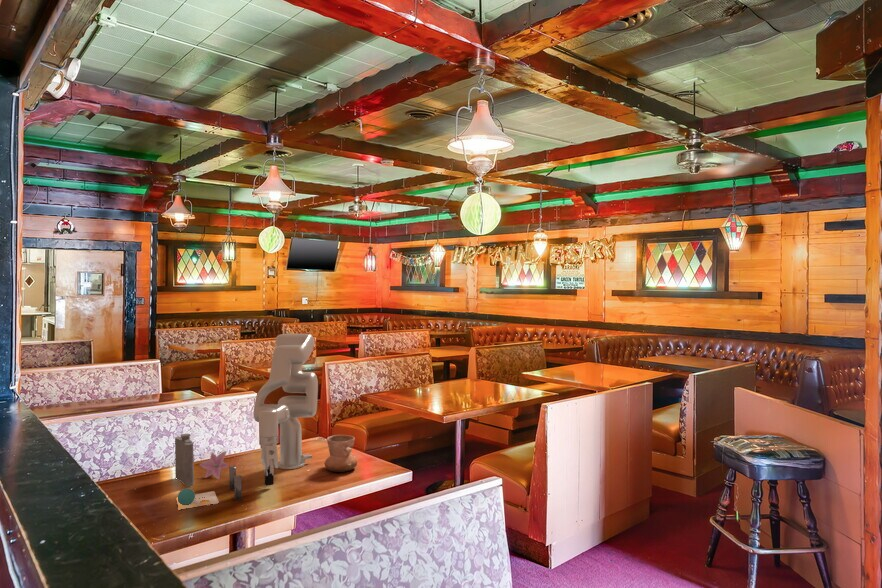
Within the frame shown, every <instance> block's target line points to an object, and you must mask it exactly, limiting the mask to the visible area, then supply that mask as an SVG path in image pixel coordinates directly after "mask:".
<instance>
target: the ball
mask: <svg viewBox="0 0 882 588" xmlns="http://www.w3.org/2000/svg"><path fill="white" fill-rule="evenodd" d="M195 494H196V493H195V491H194V490H193V488H190V487H186V488H183V489H181V490H180V491H179V492H178V494H177V497H178V502H179V503H180V504H182V505H189V504H191V503H192V502H193V501H194V498H195Z"/></svg>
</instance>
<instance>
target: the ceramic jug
mask: <svg viewBox="0 0 882 588" xmlns="http://www.w3.org/2000/svg"><path fill="white" fill-rule="evenodd" d="M326 441H327V445H328V451H329V456H328V457H327V458H326V459H325V461H324V467H325V468H326V469H327V470H329V471H330V472H334V473H346V472H348V471H351V470H353V469H354V468H357V465H358V460H357V458H356V457H355V455H352V454H351V453H352V450H353V447H354V444H355V441H356V439H355V436H353V435H349V434H348V435H347V434H334V435H331V436H328V437H327V439H326Z"/></svg>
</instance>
